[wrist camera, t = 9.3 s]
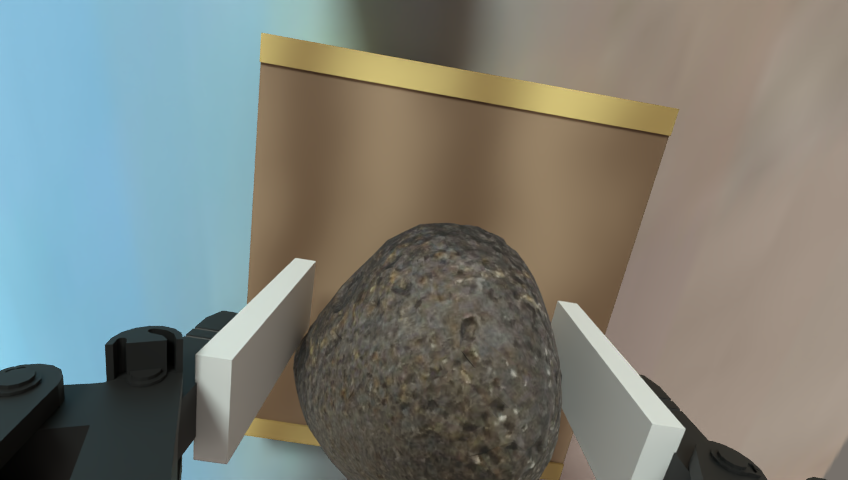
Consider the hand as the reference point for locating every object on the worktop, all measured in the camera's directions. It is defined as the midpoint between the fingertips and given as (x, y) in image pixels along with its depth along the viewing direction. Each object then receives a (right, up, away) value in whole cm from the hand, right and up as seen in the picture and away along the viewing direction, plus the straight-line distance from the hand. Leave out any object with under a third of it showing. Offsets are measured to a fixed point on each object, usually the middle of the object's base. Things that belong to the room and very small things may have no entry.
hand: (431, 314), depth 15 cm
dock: (0, +1, +5) cm, 5 cm away
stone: (0, -1, +1) cm, 1 cm away
